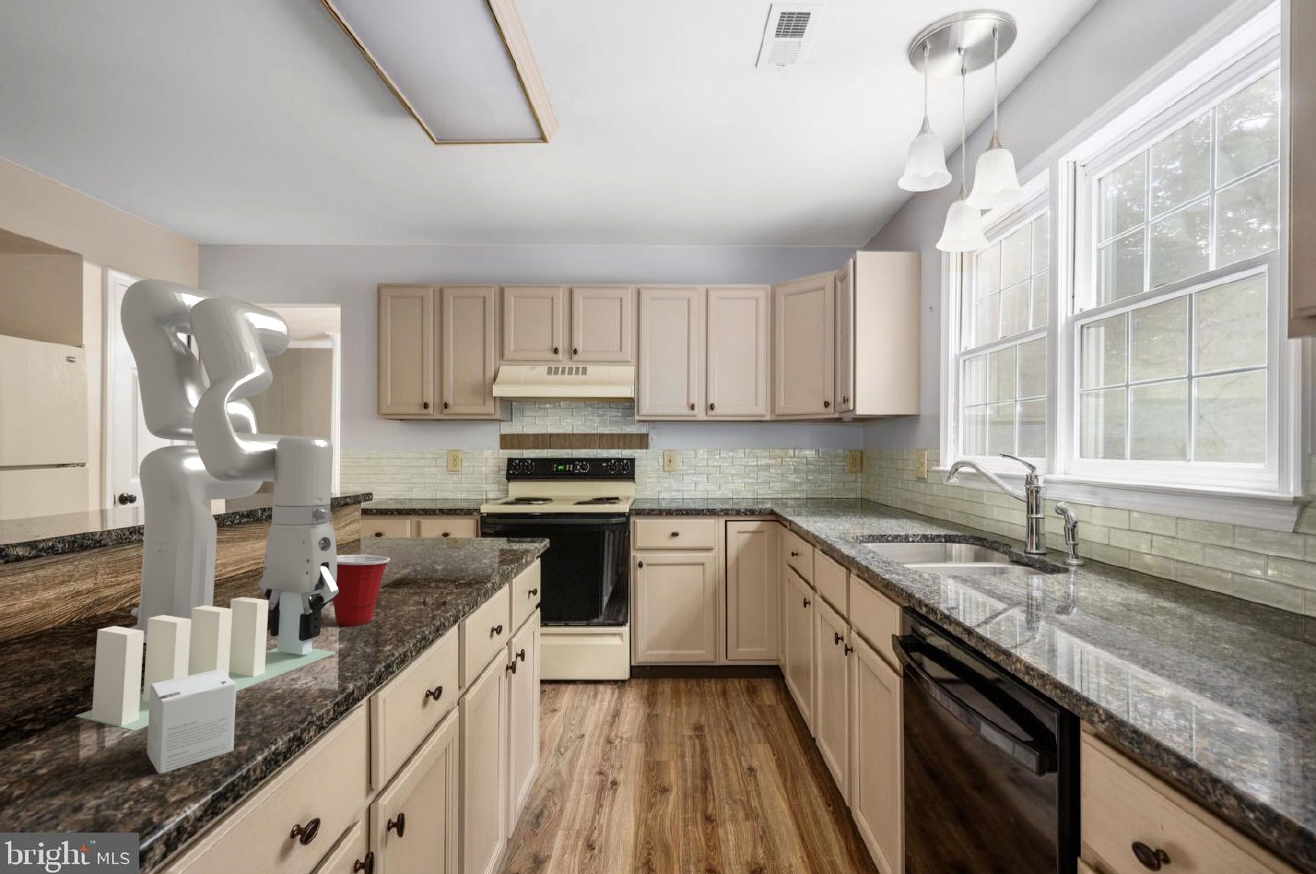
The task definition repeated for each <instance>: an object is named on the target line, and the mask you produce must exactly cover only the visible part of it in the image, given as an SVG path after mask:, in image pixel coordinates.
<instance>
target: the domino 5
mask: <svg viewBox="0 0 1316 874" xmlns="http://www.w3.org/2000/svg"><path fill="white" fill-rule="evenodd" d="M314 599H315V594H314V595H311V601H313V600H314ZM279 610H280V616H279V635H278V636H277V642H276V643H277V644H276V645H277V646H276V648H277V651H283V652H289V653H295V654H301V655H303V654H306V653H309V652H311V651H312V648H313V638H311V639H308V640H305V641H300V640H299V624H300V614H303V613H304V610H303V604H302V598H301V594H300V593H292V592H284V591H281V594H280V605H279Z"/></svg>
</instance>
